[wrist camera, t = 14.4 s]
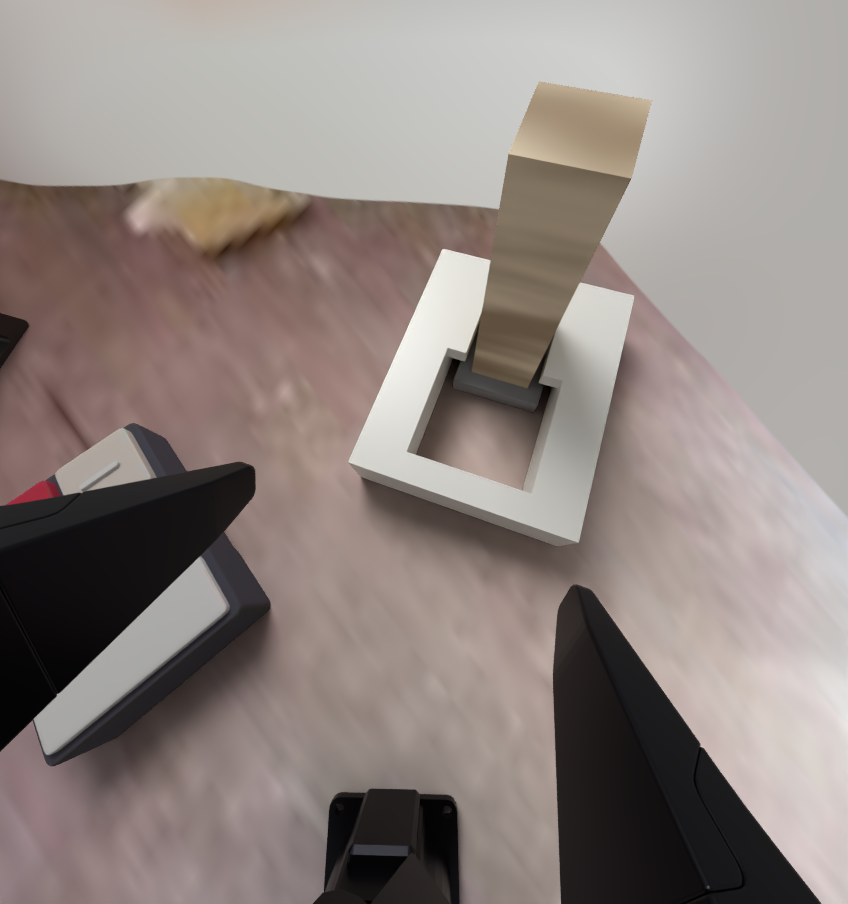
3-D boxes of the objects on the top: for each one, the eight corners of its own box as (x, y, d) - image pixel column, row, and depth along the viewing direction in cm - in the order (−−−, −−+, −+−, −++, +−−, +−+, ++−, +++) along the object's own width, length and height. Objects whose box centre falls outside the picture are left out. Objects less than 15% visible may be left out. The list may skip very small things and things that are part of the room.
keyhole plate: (557, 546, 22) (578, 543, 19) (360, 476, 24) (348, 462, 21) (610, 329, 27) (634, 295, 24) (442, 285, 29) (442, 248, 25)
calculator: (123, 414, 23) (235, 611, 18) (173, 439, 27) (275, 606, 22) (-47, 527, 21) (28, 781, 16) (34, 536, 25) (113, 741, 20)
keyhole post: (533, 412, 25) (658, 207, 11) (452, 388, 26) (470, 167, 12) (553, 344, 27) (685, 87, 12) (477, 323, 28) (519, 60, 13)
